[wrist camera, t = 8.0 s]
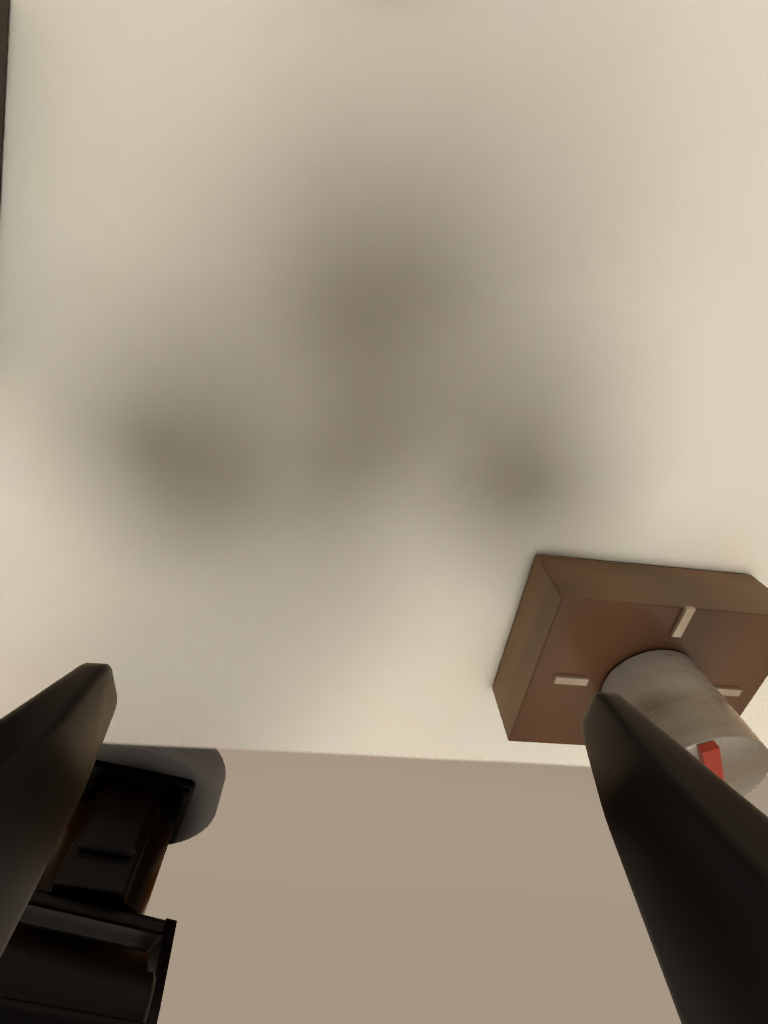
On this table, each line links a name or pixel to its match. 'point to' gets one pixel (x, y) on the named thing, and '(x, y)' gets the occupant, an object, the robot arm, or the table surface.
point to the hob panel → (622, 637)
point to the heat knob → (692, 714)
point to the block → (2, 61)
